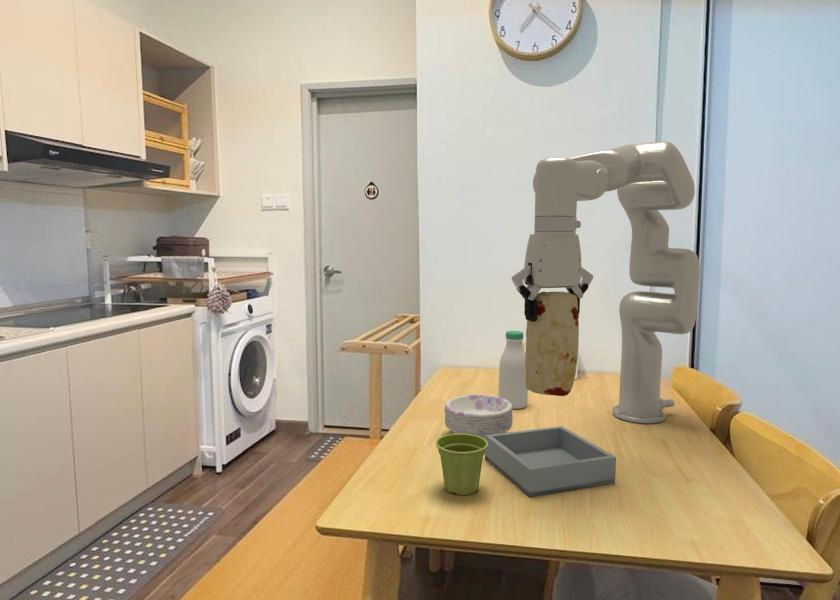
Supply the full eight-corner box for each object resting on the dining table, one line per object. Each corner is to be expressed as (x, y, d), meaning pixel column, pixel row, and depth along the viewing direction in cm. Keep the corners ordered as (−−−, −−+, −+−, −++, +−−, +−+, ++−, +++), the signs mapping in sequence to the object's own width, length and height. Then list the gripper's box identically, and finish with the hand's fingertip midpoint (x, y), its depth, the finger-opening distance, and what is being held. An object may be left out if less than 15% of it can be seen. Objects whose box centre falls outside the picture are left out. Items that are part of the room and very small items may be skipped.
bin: (561, 448, 124) (561, 426, 123) (615, 483, 107) (616, 457, 106) (484, 458, 118) (485, 435, 117) (529, 497, 101) (530, 469, 100)
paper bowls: (435, 444, 126) (435, 409, 125) (455, 422, 140) (455, 391, 139) (504, 453, 121) (505, 417, 120) (517, 430, 135) (518, 397, 134)
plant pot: (444, 503, 98) (445, 454, 97) (428, 480, 107) (428, 435, 106) (495, 496, 101) (496, 449, 100) (475, 475, 110) (476, 431, 109)
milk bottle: (529, 409, 151) (531, 334, 148) (500, 409, 151) (501, 334, 148) (524, 401, 158) (527, 329, 156) (496, 401, 158) (498, 329, 156)
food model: (523, 397, 109) (526, 291, 106) (525, 387, 115) (528, 288, 113) (576, 401, 106) (581, 293, 104) (576, 391, 113) (579, 289, 111)
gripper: (582, 227, 113) (579, 314, 115) (503, 226, 108) (501, 318, 110) (607, 227, 106) (603, 320, 108) (523, 226, 101) (520, 324, 103)
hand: (551, 319), depth 109 cm, fingers closed on food model, 8 cm apart
